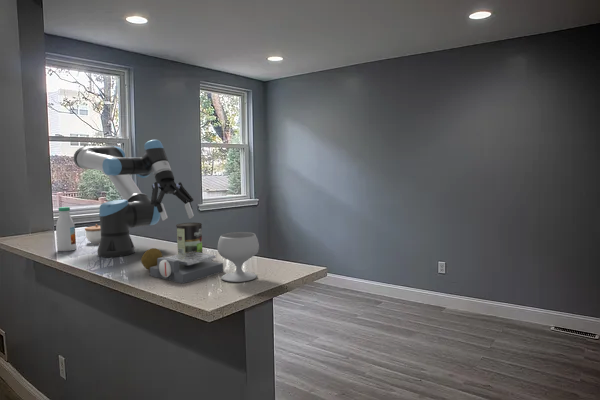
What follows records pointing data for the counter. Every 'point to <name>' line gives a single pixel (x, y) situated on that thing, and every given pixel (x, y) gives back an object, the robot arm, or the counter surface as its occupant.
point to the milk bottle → (65, 231)
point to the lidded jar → (93, 234)
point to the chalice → (238, 253)
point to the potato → (151, 258)
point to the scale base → (184, 270)
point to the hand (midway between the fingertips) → (178, 218)
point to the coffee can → (189, 237)
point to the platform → (191, 257)
